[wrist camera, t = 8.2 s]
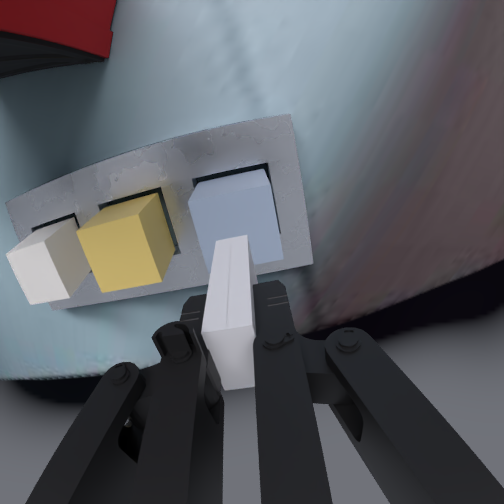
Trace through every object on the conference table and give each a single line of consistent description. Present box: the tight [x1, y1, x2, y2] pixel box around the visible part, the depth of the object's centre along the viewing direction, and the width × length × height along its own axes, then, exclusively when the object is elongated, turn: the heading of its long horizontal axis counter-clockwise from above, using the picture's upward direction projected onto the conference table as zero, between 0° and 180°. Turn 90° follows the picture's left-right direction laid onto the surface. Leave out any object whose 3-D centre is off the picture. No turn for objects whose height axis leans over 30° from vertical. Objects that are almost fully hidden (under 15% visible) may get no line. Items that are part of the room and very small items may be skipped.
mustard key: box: [76, 193, 175, 293], centre depth 21 cm, size 5×5×5 cm
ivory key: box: [6, 217, 92, 305], centre depth 21 cm, size 5×5×5 cm
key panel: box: [5, 114, 313, 310], centre depth 24 cm, size 26×12×2 cm, turn 101°
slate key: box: [188, 169, 284, 274], centre depth 20 cm, size 5×5×5 cm
